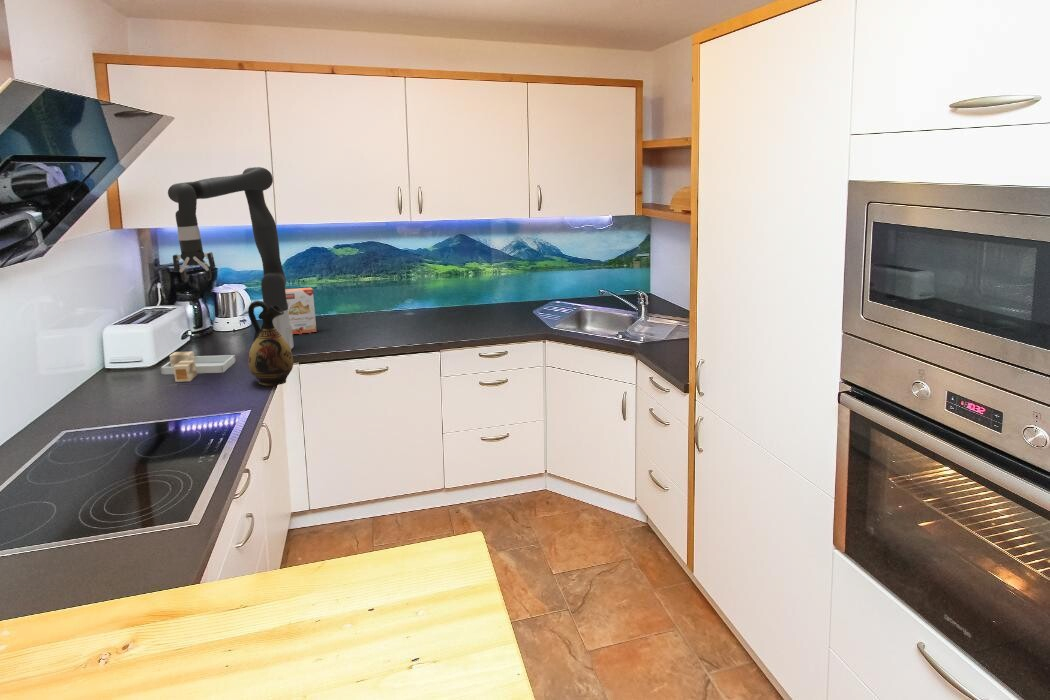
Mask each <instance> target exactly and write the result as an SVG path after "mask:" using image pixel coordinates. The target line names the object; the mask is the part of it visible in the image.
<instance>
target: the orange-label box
mask: <svg viewBox="0 0 1050 700" xmlns="http://www.w3.org/2000/svg"><path fill="white" fill-rule="evenodd" d="M173 369H174V374H173V376H174V380H175V383H177V382H178V383H179V382H180V383H182V382H183V383H184V382H191V381H192V380H194V378H196V377H197V376H198V373H196V366H195V361H180V362H179V363H177V364H176V365H174V366H173Z"/></svg>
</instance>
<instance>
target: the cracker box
mask: <svg viewBox="0 0 1050 700" xmlns="http://www.w3.org/2000/svg"><path fill="white" fill-rule="evenodd" d="M285 292H286V300H287V303H288V311H289V321H290V326H292V336H294V335H293V334H299V335H303V334H302V333H309V334H312V333H311V332H317V323H316V310H315V309H316V308H315V300H314V299H315V298H314V289H313V288H312V287H300V288H287V289H286V288H285Z"/></svg>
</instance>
